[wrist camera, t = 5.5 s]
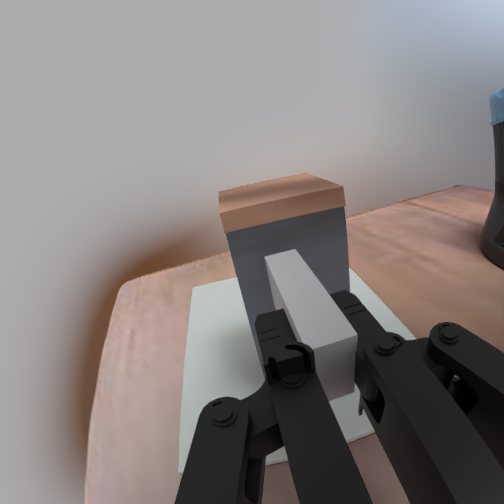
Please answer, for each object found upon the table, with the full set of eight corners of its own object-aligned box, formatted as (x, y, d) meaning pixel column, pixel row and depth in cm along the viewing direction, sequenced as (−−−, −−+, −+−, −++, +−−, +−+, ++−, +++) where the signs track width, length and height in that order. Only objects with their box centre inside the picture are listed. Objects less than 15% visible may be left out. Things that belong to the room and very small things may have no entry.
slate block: (258, 349, 24) (218, 191, 18) (324, 331, 24) (305, 173, 19) (270, 402, 18) (219, 212, 13) (349, 378, 18) (343, 186, 13)
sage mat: (194, 290, 37) (192, 287, 37) (334, 256, 38) (334, 252, 38) (181, 474, 13) (178, 472, 13) (454, 390, 14) (456, 386, 14)
